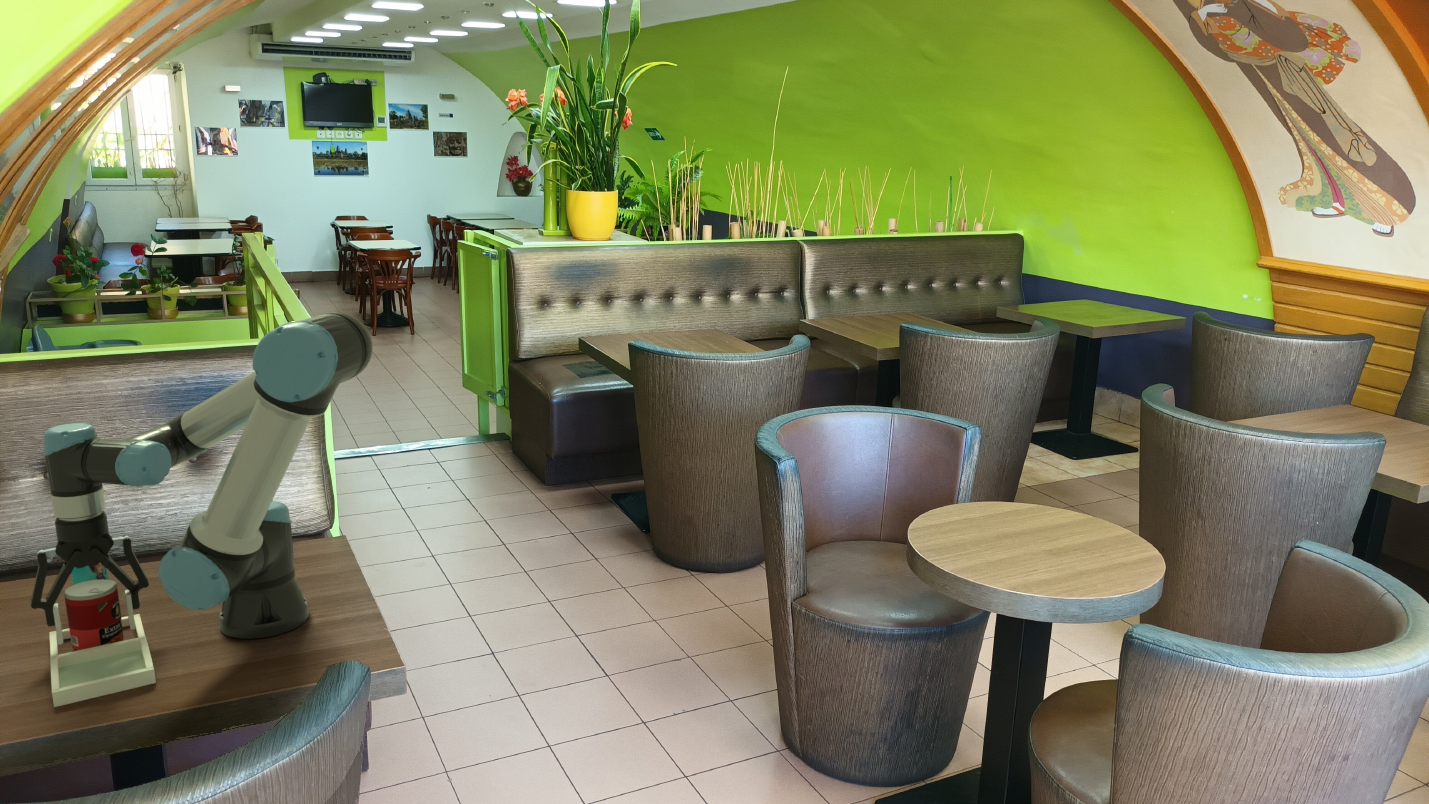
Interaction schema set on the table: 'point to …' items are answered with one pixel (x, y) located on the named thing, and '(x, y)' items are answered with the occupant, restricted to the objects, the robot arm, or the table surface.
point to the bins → (100, 667)
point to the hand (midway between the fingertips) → (97, 633)
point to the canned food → (93, 614)
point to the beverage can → (89, 573)
